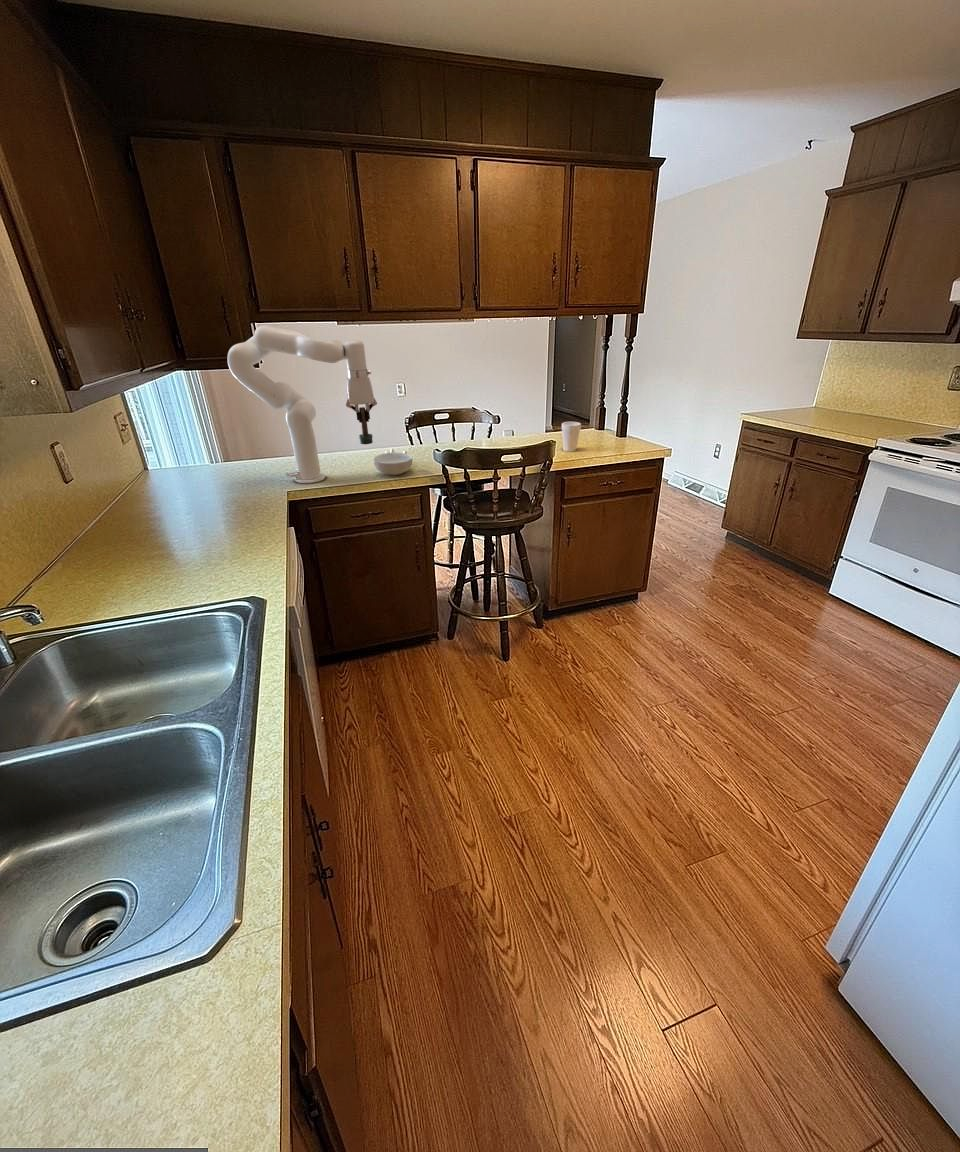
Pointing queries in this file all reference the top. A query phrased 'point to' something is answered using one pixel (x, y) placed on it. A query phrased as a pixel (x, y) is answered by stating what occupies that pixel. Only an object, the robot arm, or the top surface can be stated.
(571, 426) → the foam cup
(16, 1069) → the top surface
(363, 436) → the brush
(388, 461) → the cereal bowl
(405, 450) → the bracket
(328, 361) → the robot arm
